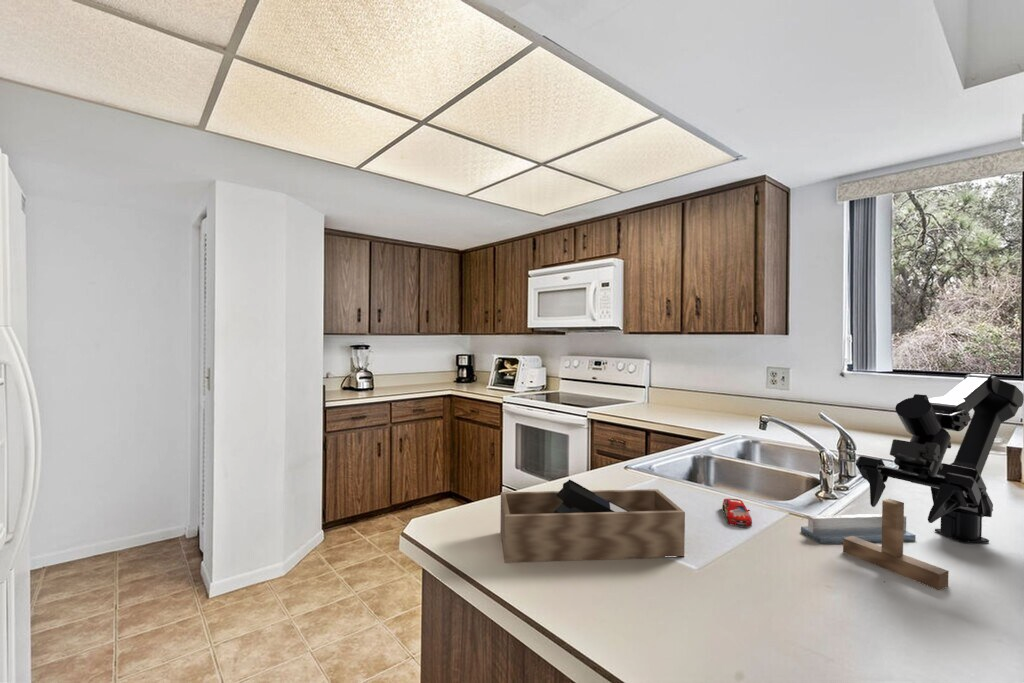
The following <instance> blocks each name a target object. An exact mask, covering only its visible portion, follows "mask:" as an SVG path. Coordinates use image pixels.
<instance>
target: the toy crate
mask: <svg viewBox="0 0 1024 683" xmlns="http://www.w3.org/2000/svg"><path fill="white" fill-rule="evenodd" d="M559 491H560V490H557V491H555V490H554V491H553V490H550V491H507V492H506V491H505V492H504V491H502V492H500V522H499V523H500V527H499V528H500V532H499V533H500V539H501V546H502V553H503V560H504V564H507V563H508V564H509V563H534V562H535V563H536V562H538V563H541V562H564V561H565V562H567V561H569V562H570V561H597V560H598V559H599V560H602V559H603V560H604V559H605V560H626V559H625V558H636V559H653V558H652V557H665V556H684V557H685V545H686V544H685V540H686V538H685V533H686V532H685V530H686V527H685V526H686V511H684V510H683V509H682V508H680V506H678V505H677V504H676V503H674V501H672V500H671V499H670V498H669V497H668V496H667V495H665V494H664V493H663V492H661V491H660V490H659V489H656V488H653V489H651V488H650V489H646V488H645V489H609V490H608V489H605V490H603V489H602V490H601V489H599V490H595V489H594V490H590V491H591V492H593V493H595V495H597V496H599V497H601V498H603V499H605V500H607V501H608V500H609V501H611V502H612V503H614V504H616V505H618V506H620V507H622V508H624V509H626V510H628V511H630V512H591V513H553V512H554V511H555V510H556V509H557V508H558V507H559V506H560V505H561V504H562V503H563V501H562V500H561V499H560V498H558V497H557V496H556V494H557V493H558V492H559ZM650 557H651V558H650ZM623 558H624V559H623ZM599 560H598V561H599ZM603 560H602V561H603Z"/></svg>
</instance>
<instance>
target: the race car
mask: <svg viewBox="0 0 1024 683" xmlns="http://www.w3.org/2000/svg"><path fill="white" fill-rule="evenodd" d="M723 511H724V512H723ZM722 512H723V514H725V515H724V517H725V519H726V522H727V521H728V522H727V524H728V525H730V526H731V525H732V526H736V527H741V528H749V527H750V526H751V527H752V525H753V519H752V517H751V515H750V512H751V510H750V509H748V508H747V507H746V505H745V504H744V502H743V500H741V499H738V498H731V497H730V498H729V497H727V498H724V499H723V501H722Z"/></svg>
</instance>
